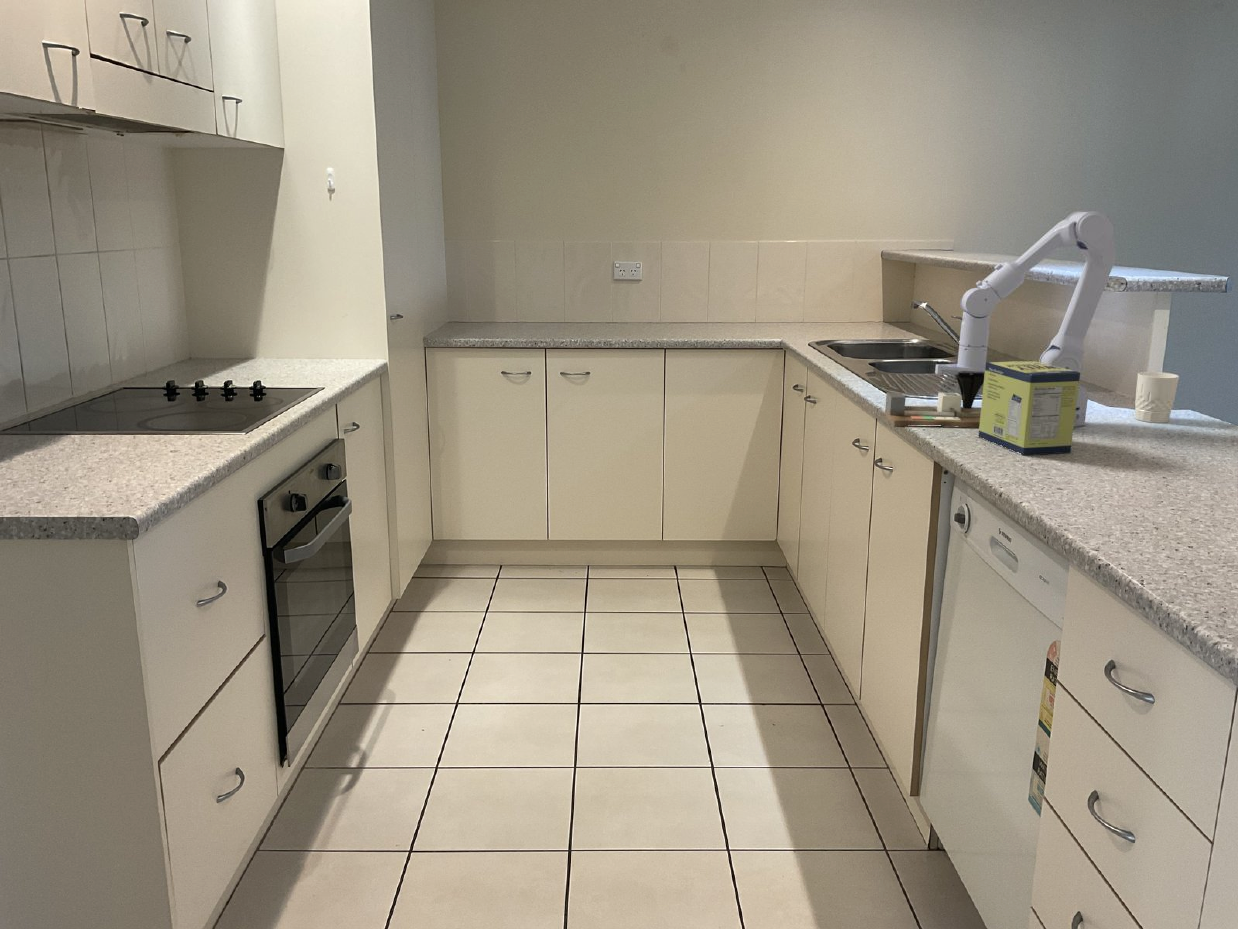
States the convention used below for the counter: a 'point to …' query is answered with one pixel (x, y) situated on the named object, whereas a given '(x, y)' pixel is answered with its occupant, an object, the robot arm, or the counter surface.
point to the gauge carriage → (949, 402)
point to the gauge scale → (935, 418)
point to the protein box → (1029, 406)
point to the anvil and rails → (922, 408)
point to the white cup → (1155, 396)
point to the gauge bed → (933, 421)
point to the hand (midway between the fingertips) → (967, 407)
